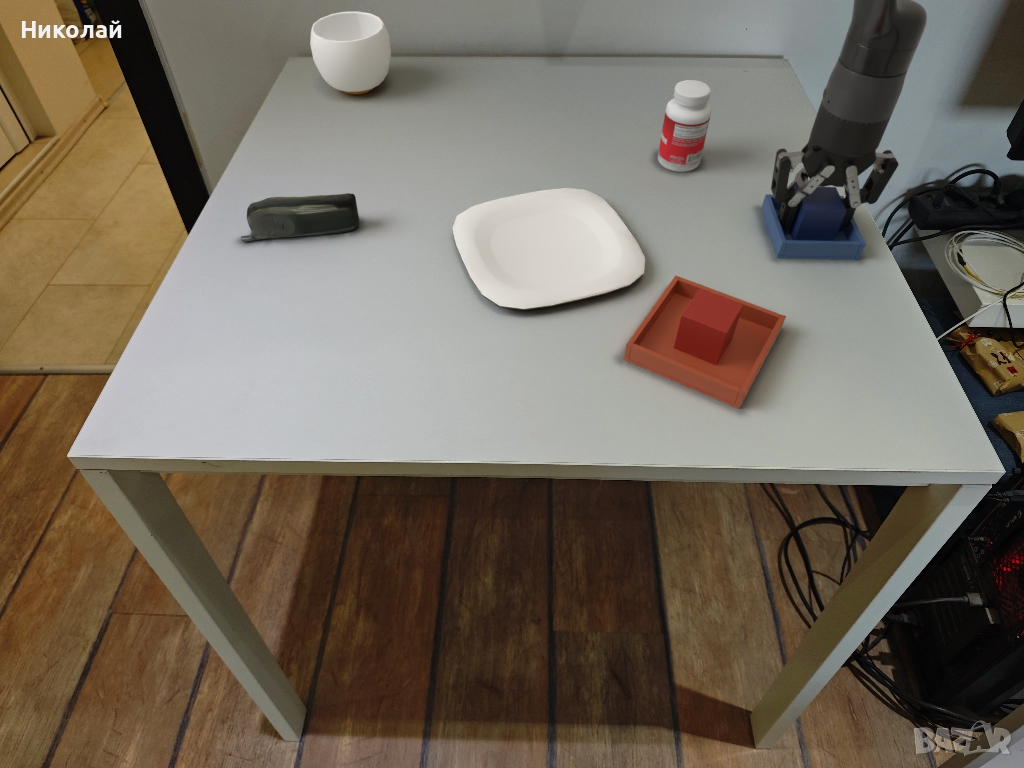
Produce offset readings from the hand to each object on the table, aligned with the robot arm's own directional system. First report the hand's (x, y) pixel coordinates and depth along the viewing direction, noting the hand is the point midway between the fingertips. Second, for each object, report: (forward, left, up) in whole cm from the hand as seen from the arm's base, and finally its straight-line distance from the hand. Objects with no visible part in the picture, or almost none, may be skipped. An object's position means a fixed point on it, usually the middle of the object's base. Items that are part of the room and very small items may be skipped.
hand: (811, 226), depth 92 cm
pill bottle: (+21, -7, -1) cm, 22 cm away
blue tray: (0, 0, -1) cm, 1 cm away
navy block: (0, 0, -1) cm, 1 cm away
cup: (+75, 0, -1) cm, 75 cm away
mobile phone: (+56, +34, -1) cm, 66 cm away
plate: (+27, +21, -1) cm, 34 cm away
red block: (+4, +26, -1) cm, 26 cm away
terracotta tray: (+4, +26, -1) cm, 26 cm away
